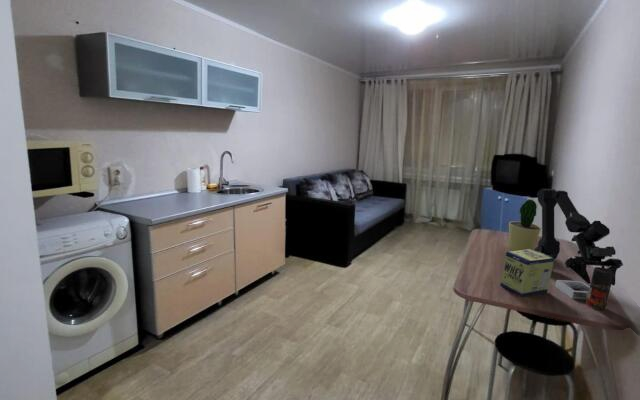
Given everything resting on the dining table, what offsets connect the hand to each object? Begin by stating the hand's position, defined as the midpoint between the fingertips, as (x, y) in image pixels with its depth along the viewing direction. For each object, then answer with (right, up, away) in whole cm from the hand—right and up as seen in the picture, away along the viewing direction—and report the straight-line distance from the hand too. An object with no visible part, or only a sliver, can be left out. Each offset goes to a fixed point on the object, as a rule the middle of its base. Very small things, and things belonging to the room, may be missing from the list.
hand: (601, 284), depth 132 cm
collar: (0, -7, +13) cm, 14 cm away
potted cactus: (+4, +4, +61) cm, 62 cm away
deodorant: (0, -9, +2) cm, 10 cm away
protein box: (-22, -6, +14) cm, 26 cm away
